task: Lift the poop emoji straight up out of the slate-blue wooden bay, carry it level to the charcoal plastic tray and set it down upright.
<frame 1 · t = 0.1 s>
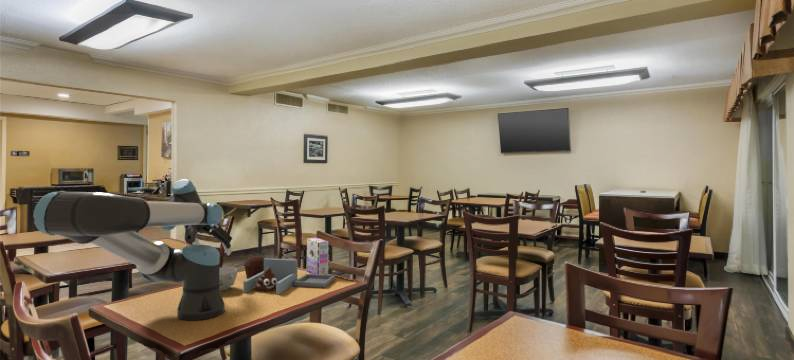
hand: (215, 252, 178), 15 cm above the table, tool tilted 35°, fingers open, 13 cm apart
tray: (315, 282, 188), on the table
teacup: (223, 290, 177), on the table
muffin: (256, 277, 197), on the table
poop emoji: (267, 289, 178), on the table
bay: (267, 289, 178), on the table
candy box: (317, 273, 206), on the table
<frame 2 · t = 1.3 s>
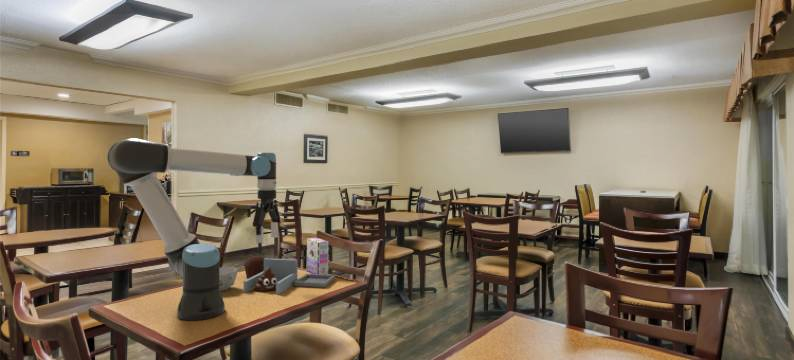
hand: (267, 240, 178), 21 cm above the table, tool pointing down, fingers open, 13 cm apart
nothing on the table moved.
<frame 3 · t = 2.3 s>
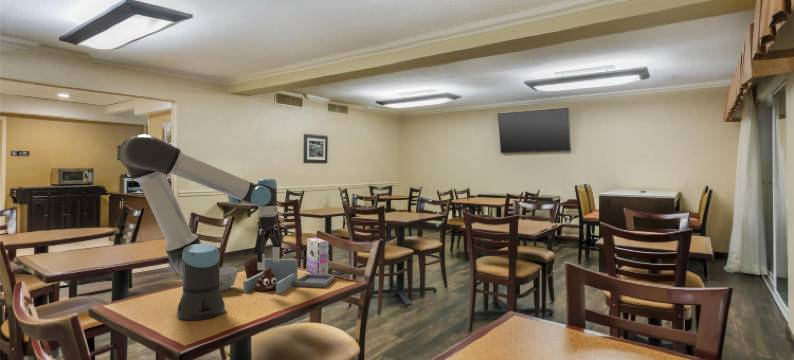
hand: (268, 265, 178), 10 cm above the table, tool pointing down, fingers open, 13 cm apart
nothing on the table moved.
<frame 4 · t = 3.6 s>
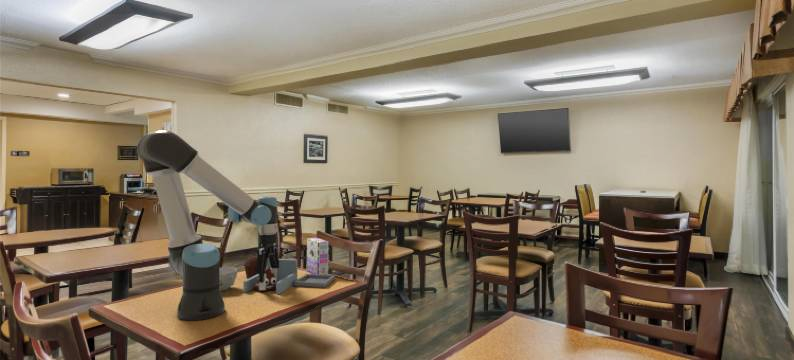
hand: (268, 286, 178), 1 cm above the table, tool pointing down, fingers closed on poop emoji, 9 cm apart
poop emoji: (267, 289, 178), on the table, touching gripper
everything else where it was.
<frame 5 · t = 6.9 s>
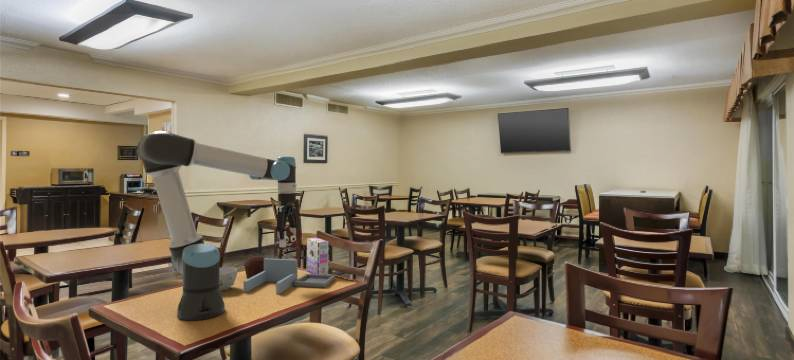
hand: (287, 244, 182), 18 cm above the table, tool pointing down, fingers closed on poop emoji, 9 cm apart
poop emoji: (286, 247, 182), point 17 cm above the table, touching gripper
everything else where it was.
when the fingers open (3 cm above the table, at t = 10.3 s): poop emoji drops 1 cm, resting on tray.
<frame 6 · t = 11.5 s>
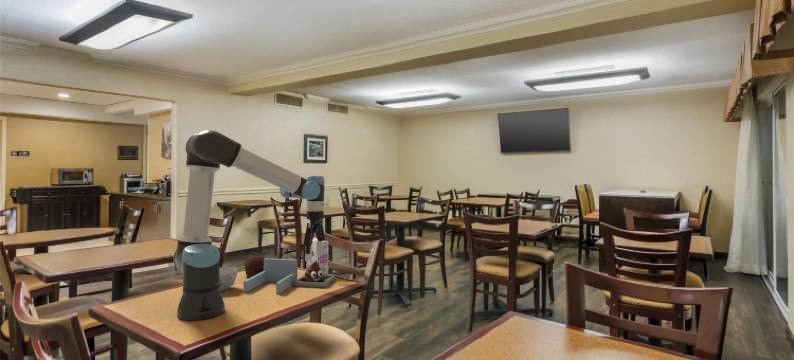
hand: (314, 258, 188), 11 cm above the table, tool pointing down, fingers open, 13 cm apart
poop emoji: (314, 282, 189), resting on tray
everything else where it was.
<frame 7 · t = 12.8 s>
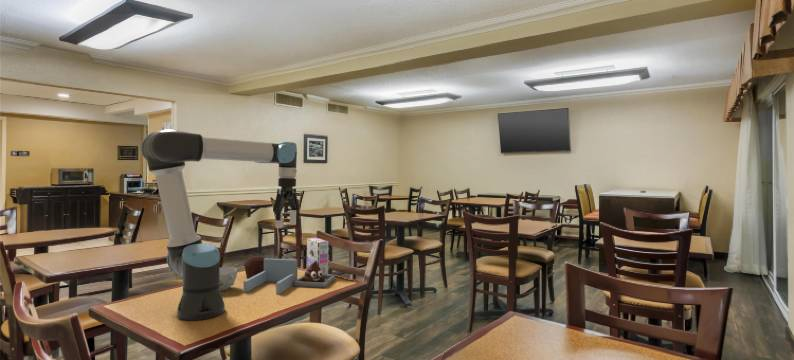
hand: (286, 226, 185), 26 cm above the table, tool pointing down, fingers open, 13 cm apart
nothing on the table moved.
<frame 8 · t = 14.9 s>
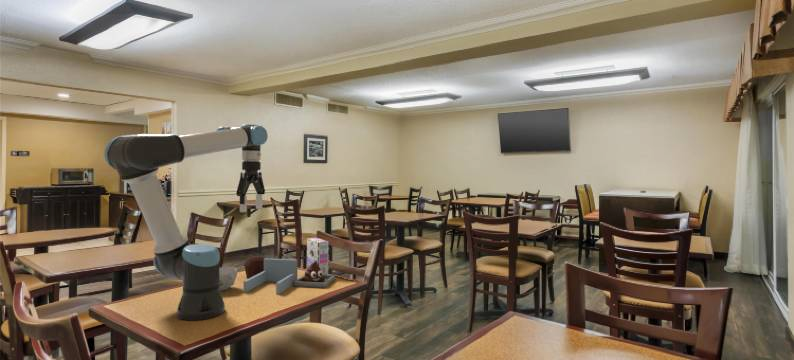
hand: (251, 210, 182), 33 cm above the table, tool pointing down, fingers open, 13 cm apart
nothing on the table moved.
at the end: poop emoji 0.5 cm off-centre on the tray, point 0.3 cm above the tray's base; poop emoji tilted 0°; the gripper is holding nothing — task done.
